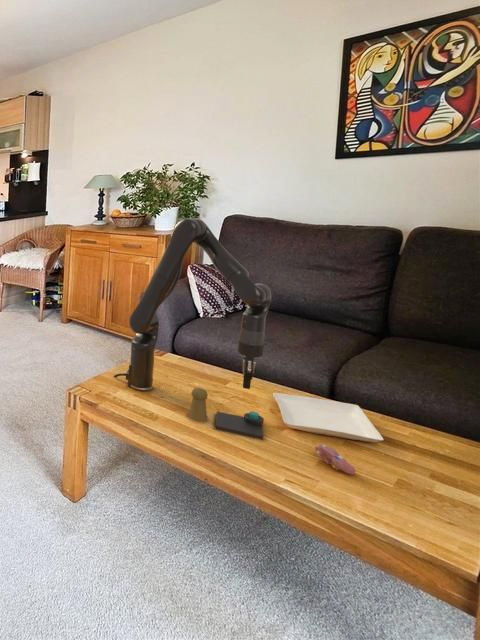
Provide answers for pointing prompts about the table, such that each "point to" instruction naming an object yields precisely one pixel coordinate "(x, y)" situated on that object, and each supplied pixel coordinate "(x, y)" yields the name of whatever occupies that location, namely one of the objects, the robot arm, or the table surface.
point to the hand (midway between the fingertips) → (246, 387)
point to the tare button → (253, 415)
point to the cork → (198, 405)
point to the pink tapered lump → (334, 459)
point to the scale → (240, 425)
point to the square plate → (326, 417)
